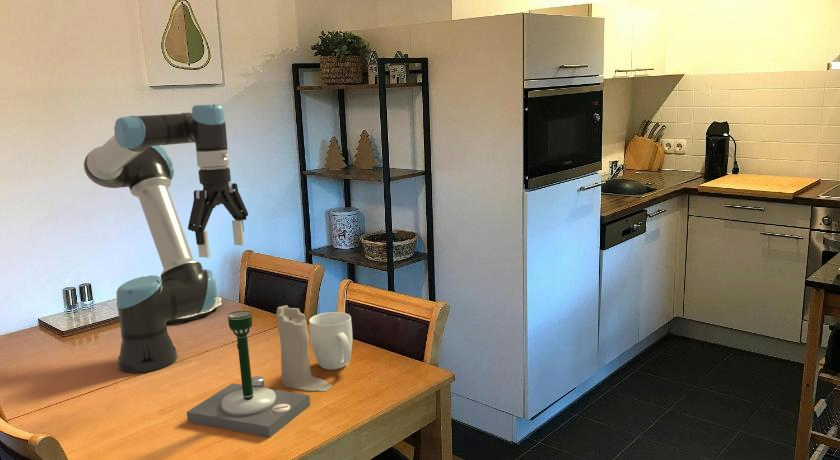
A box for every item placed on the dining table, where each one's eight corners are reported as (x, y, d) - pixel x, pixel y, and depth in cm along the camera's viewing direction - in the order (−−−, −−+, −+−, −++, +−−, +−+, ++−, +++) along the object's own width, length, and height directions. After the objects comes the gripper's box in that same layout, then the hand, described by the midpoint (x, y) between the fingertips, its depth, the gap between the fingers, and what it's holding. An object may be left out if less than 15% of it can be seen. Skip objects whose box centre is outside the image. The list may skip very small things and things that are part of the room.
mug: (368, 370, 177) (365, 322, 174) (330, 382, 171) (326, 332, 169) (342, 354, 189) (339, 308, 187) (305, 364, 183) (302, 317, 181)
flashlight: (246, 392, 159) (237, 309, 155) (264, 394, 157) (256, 311, 153) (232, 401, 154) (222, 316, 150) (251, 404, 152) (242, 318, 148)
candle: (321, 394, 164) (314, 315, 160) (276, 385, 171) (269, 308, 167) (338, 383, 170) (333, 306, 166) (295, 374, 177) (288, 300, 173)
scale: (187, 422, 153) (185, 406, 152) (233, 392, 167) (231, 378, 167) (269, 437, 144) (268, 421, 144) (310, 405, 159) (309, 390, 158)
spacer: (245, 389, 170) (244, 380, 169) (259, 383, 172) (258, 374, 172) (254, 393, 167) (252, 384, 166) (268, 387, 169) (267, 378, 169)
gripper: (191, 173, 157) (201, 263, 161) (256, 162, 180) (264, 240, 184) (165, 173, 160) (176, 261, 164) (233, 162, 182) (241, 239, 187)
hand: (222, 250), depth 174 cm, fingers open, 13 cm apart
